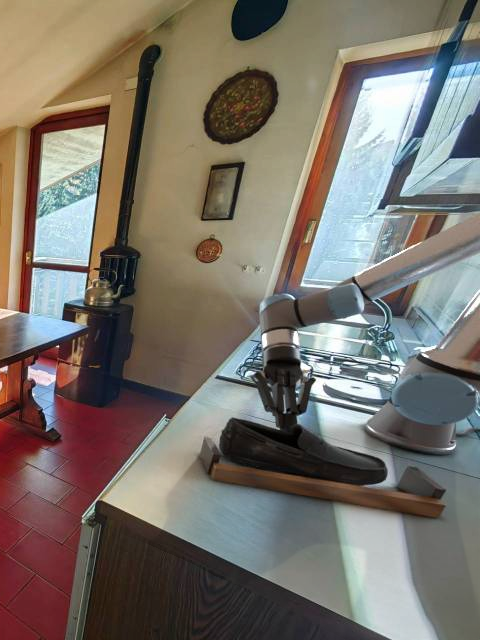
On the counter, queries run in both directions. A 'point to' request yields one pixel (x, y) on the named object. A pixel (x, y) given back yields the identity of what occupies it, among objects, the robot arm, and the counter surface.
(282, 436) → the loafer
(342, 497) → the wooden plank on wedges
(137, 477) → the counter surface
